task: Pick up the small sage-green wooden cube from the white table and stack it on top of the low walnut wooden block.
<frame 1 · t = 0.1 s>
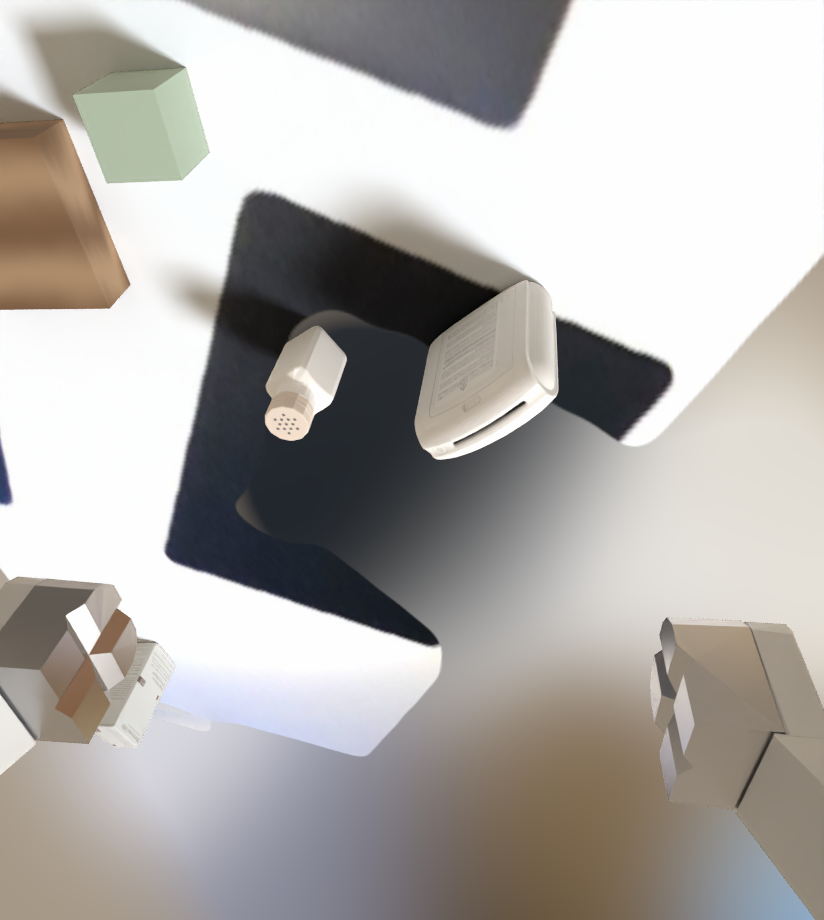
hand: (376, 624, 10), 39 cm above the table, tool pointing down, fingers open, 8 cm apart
salt shaker: (317, 347, 54), on the table
green cube: (162, 113, 43), on the table
photo printer: (490, 325, 51), on the table
skincare box: (153, 651, 93), on the table
walnut block: (27, 209, 49), on the table
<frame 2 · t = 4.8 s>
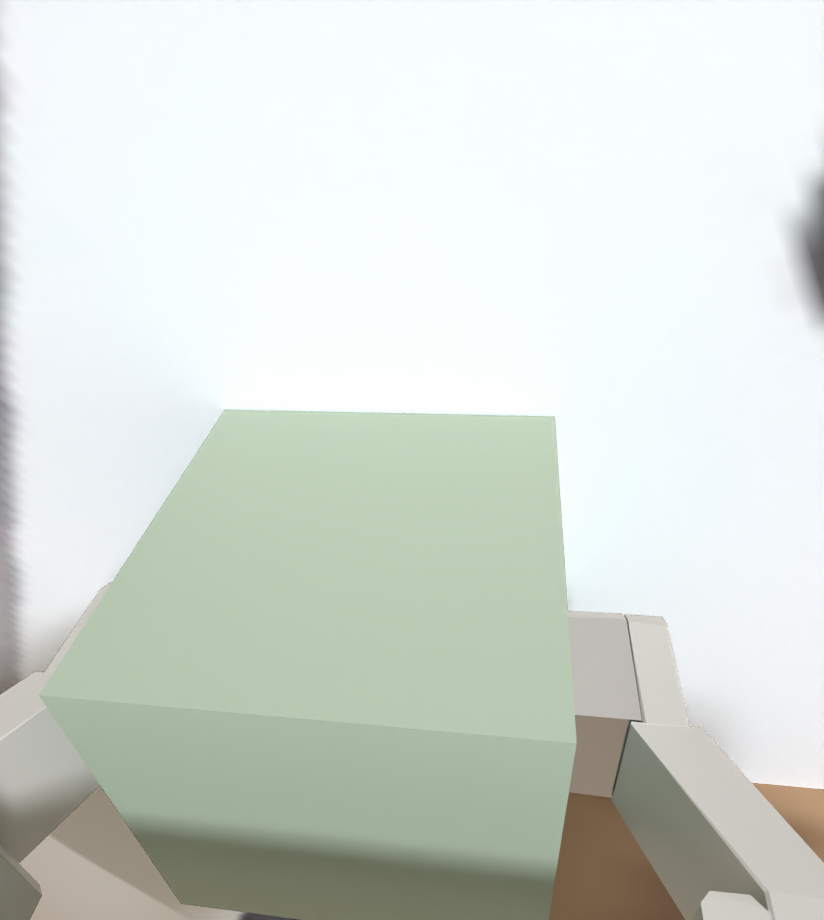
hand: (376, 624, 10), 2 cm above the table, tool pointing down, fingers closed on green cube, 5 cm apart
green cube: (396, 535, 11), on the table, touching gripper
walnut block: (644, 872, 19), on the table
when the fingers open (7 cm above the table, at t = 12.4 s): green cube drops 2 cm, point 3 cm above the table.
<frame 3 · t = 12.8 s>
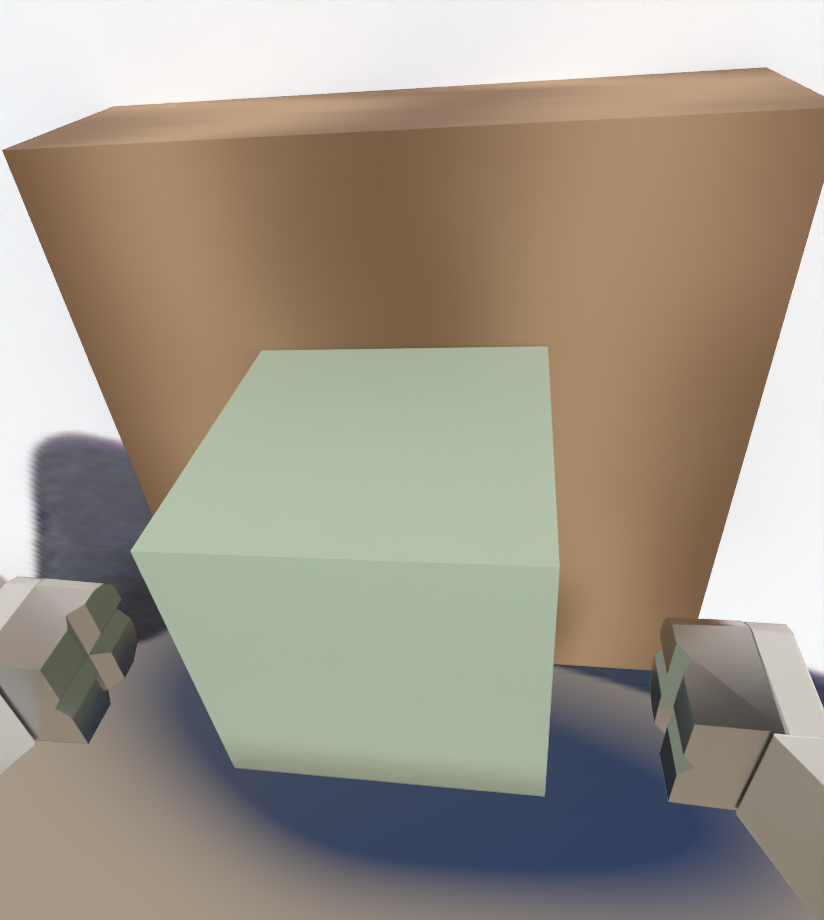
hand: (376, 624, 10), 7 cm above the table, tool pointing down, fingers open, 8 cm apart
green cube: (412, 463, 13), point 3 cm above the table
walnut block: (434, 364, 16), on the table
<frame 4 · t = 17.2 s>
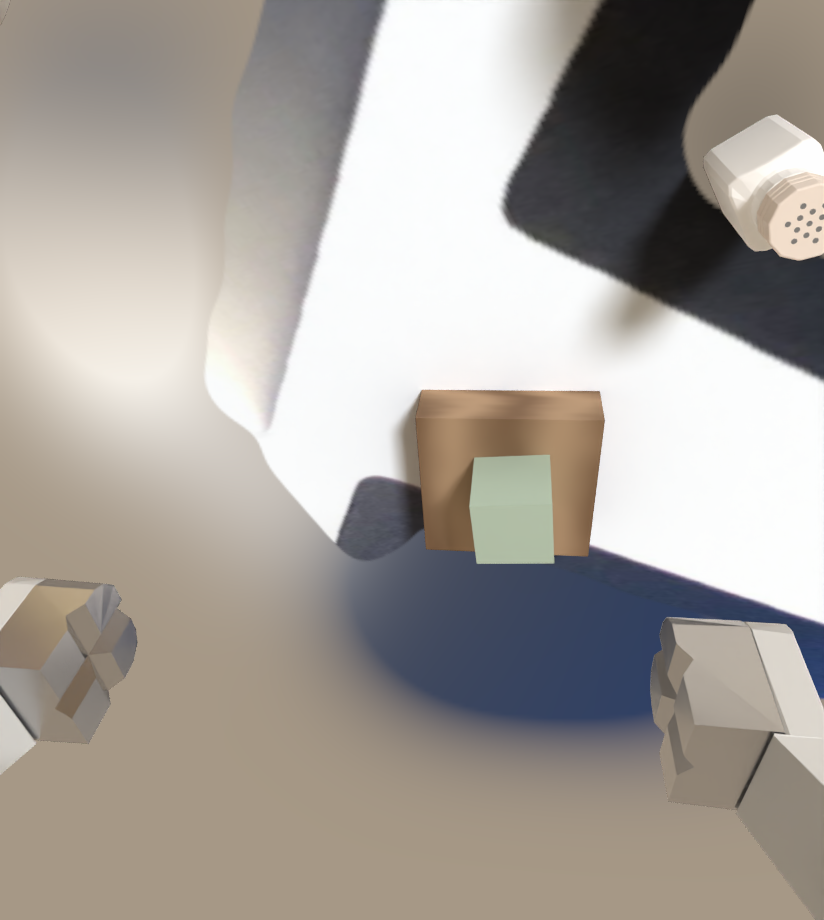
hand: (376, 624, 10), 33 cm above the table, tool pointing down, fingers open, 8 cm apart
salt shaker: (747, 164, 35), on the table
green cube: (513, 485, 46), point 3 cm above the table, touching walnut block
walnut block: (507, 456, 49), on the table, touching green cube
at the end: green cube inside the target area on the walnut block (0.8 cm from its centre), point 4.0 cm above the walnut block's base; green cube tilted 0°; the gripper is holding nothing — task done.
